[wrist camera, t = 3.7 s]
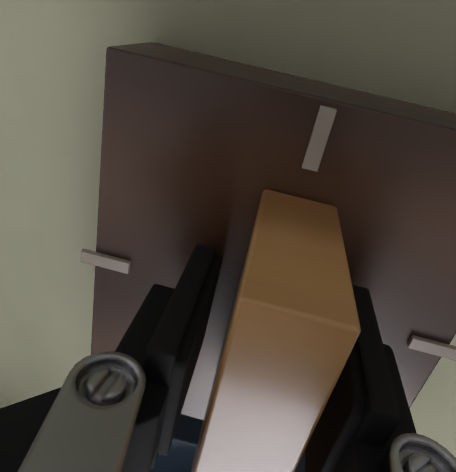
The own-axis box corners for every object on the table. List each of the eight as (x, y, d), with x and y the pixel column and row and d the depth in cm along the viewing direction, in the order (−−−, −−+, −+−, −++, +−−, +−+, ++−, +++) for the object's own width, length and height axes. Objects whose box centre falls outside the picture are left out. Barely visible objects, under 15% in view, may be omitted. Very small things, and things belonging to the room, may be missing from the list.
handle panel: (138, 38, 12) (86, 42, 9) (517, 128, 11) (590, 162, 8) (113, 329, 17) (76, 390, 14) (369, 399, 16) (384, 476, 13)
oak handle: (263, 187, 10) (236, 308, 6) (337, 205, 10) (366, 342, 5) (214, 376, 13) (172, 545, 9) (270, 391, 13) (255, 570, 9)
